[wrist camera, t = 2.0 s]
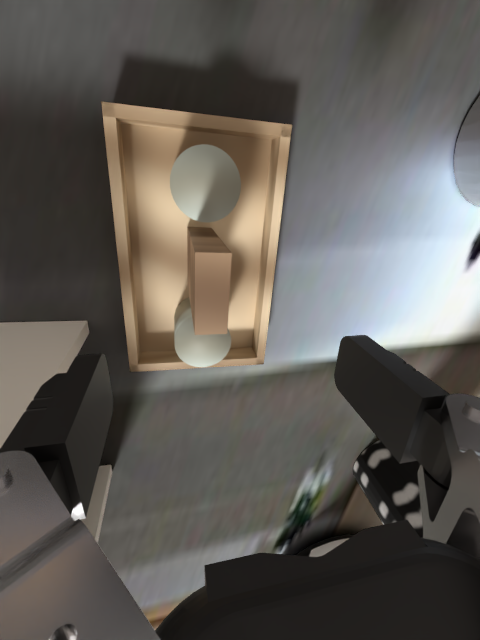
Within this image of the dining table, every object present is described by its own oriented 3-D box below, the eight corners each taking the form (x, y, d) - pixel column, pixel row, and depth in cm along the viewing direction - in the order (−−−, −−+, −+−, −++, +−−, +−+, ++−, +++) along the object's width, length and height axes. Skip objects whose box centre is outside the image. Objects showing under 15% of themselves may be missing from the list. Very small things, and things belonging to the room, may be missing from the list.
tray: (110, 111, 17) (59, 56, 9) (278, 131, 19) (347, 99, 11) (134, 353, 23) (115, 436, 16) (255, 348, 26) (290, 418, 18)
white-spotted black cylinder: (345, 487, 37) (502, 766, 20) (363, 438, 34) (571, 723, 16) (402, 479, 39) (591, 727, 21) (423, 432, 36) (671, 681, 18)
